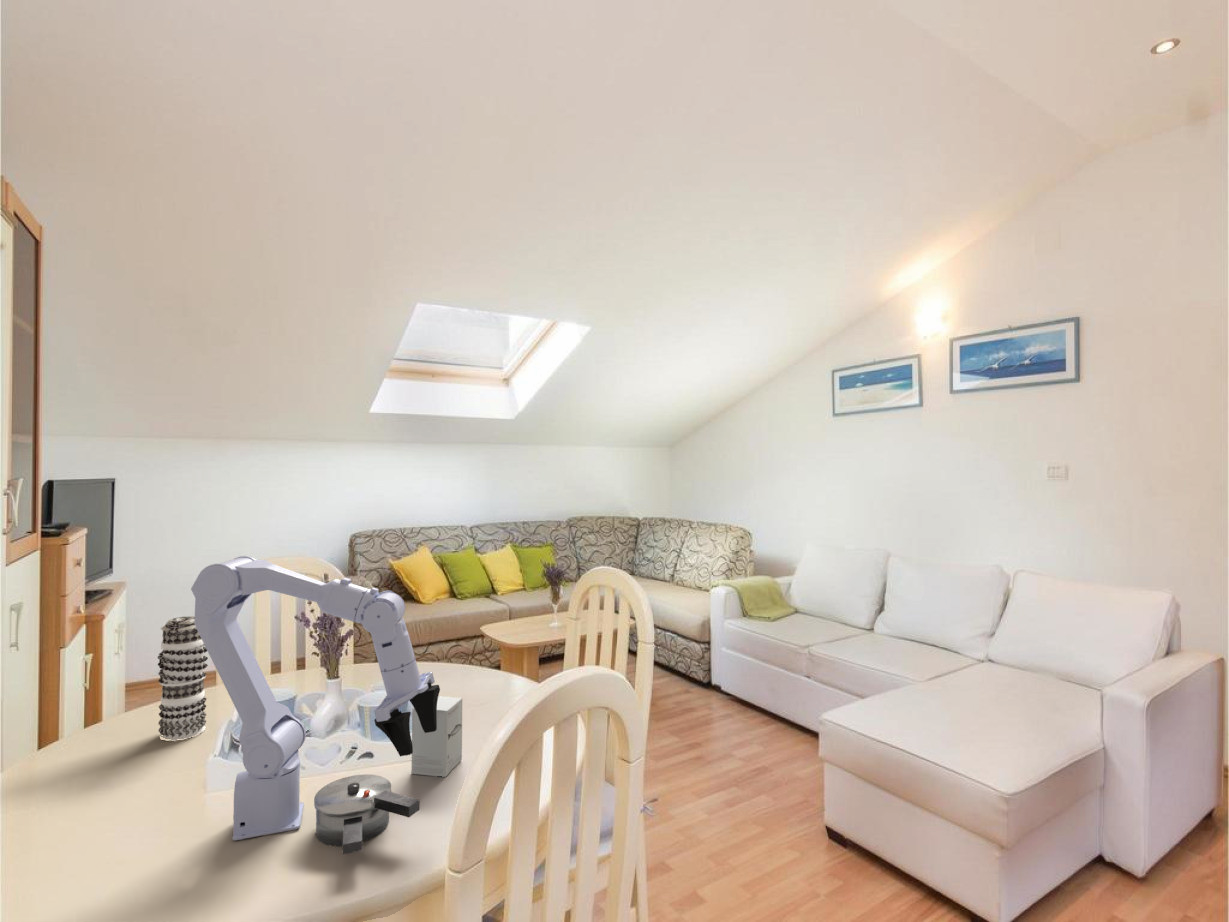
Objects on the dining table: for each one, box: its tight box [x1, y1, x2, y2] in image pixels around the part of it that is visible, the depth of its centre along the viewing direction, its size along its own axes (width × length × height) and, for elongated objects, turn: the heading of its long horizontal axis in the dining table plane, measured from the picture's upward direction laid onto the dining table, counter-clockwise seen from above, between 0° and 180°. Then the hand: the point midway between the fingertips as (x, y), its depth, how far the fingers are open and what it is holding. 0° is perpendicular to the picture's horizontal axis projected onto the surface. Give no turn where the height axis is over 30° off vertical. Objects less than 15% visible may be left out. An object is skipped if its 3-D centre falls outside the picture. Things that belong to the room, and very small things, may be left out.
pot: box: [315, 808, 390, 855], centre depth 101 cm, size 11×18×4 cm, turn 22°
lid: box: [313, 774, 421, 818], centre depth 103 cm, size 18×12×2 cm, turn 67°
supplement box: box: [410, 695, 463, 778], centre depth 124 cm, size 7×7×13 cm
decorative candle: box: [157, 615, 209, 740], centre depth 139 cm, size 9×9×25 cm
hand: (419, 742), depth 107 cm, fingers open, 7 cm apart
